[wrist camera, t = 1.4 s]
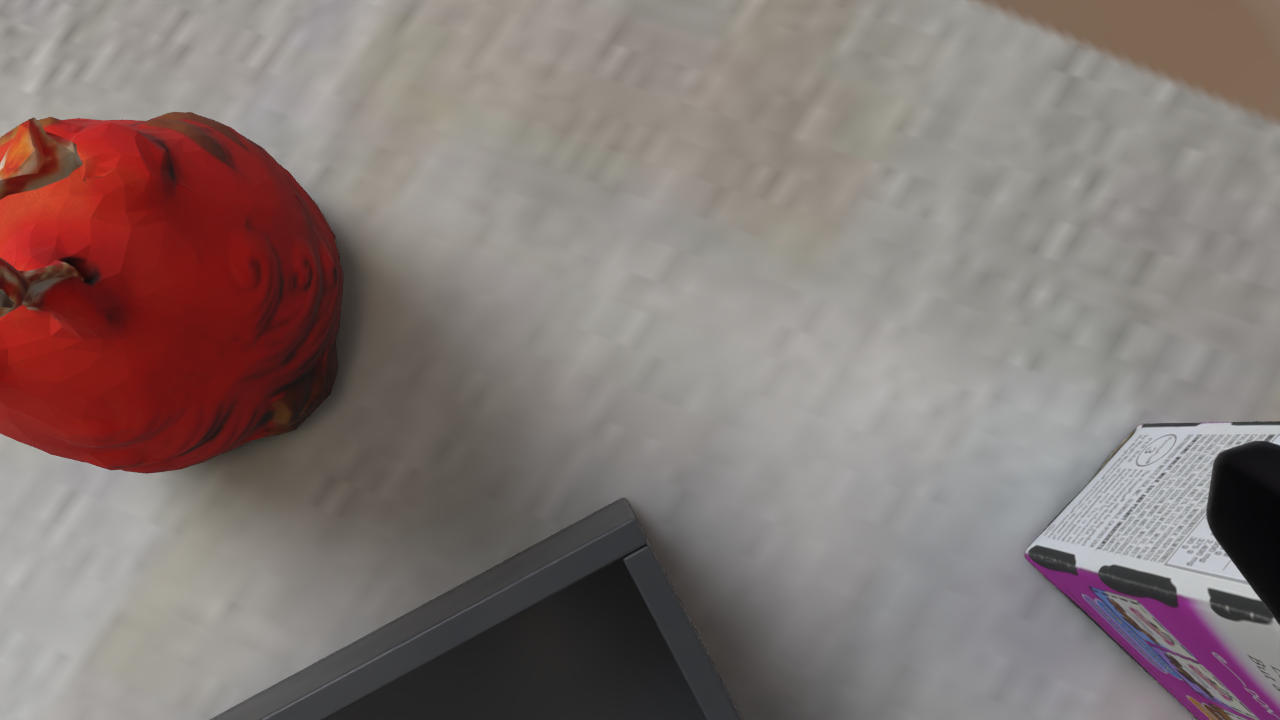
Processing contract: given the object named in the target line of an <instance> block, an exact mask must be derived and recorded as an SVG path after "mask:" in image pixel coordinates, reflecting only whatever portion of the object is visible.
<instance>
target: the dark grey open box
mask: <svg viewBox="0 0 1280 720" xmlns="http://www.w3.org/2000/svg"><path fill="white" fill-rule="evenodd" d="M210 720H742V718H741V716H740V714H739V713H738V711H737V709H736V707H735V705H734V703H733V701H732V699H731V697H730V695H729V694H728V692H727V690H726V688H725V686H724V684H723V682H722V680H721V678H720V676H719V675H718V673H717V671H716V669H715V667H714V665H713V663H712V661H711V659H710V657H709V656H708V654H707V652H706V650H705V648H704V646H703V644H702V642H701V640H700V638H699V637H698V635H697V633H696V631H695V629H694V627H693V625H692V623H691V621H690V619H689V618H688V616H687V614H686V612H685V610H684V608H683V606H682V604H681V602H680V600H679V599H678V597H677V595H676V593H675V591H674V589H673V587H672V585H671V583H670V581H669V580H668V578H667V576H666V574H665V572H664V570H663V568H662V566H661V564H660V562H659V561H658V559H657V557H656V555H655V553H654V551H653V549H652V547H651V545H650V543H649V542H648V540H647V538H646V536H645V534H644V532H643V530H642V528H641V526H640V524H639V523H638V521H637V519H636V517H635V515H634V513H633V511H632V509H631V507H630V505H629V504H628V502H627V500H626V499H625V498H621V499H619V500H617V501H615V502H613V503H612V504H610V505H608V506H606V507H604V508H602V509H600V510H599V511H597V512H595V513H593V514H591V515H589V516H587V517H586V518H584V519H582V520H580V521H578V522H576V523H574V524H573V525H571V526H569V527H567V528H565V529H563V530H561V531H560V532H558V533H556V534H554V535H552V536H550V537H548V538H547V539H545V540H543V541H541V542H539V543H537V544H535V545H534V546H532V547H530V548H528V549H526V550H524V551H522V552H521V553H519V554H517V555H515V556H513V557H511V558H509V559H508V560H506V561H504V562H502V563H500V564H498V565H496V566H495V567H493V568H491V569H489V570H487V571H485V572H483V573H482V574H480V575H478V576H476V577H474V578H472V579H470V580H469V581H467V582H465V583H463V584H461V585H459V586H457V587H456V588H454V589H452V590H450V591H448V592H446V593H444V594H443V595H441V596H439V597H437V598H435V599H433V600H431V601H430V602H428V603H426V604H424V605H422V606H420V607H418V608H417V609H415V610H413V611H411V612H409V613H407V614H405V615H404V616H402V617H400V618H398V619H396V620H394V621H392V622H391V623H389V624H387V625H385V626H383V627H381V628H379V629H378V630H376V631H374V632H372V633H370V634H368V635H366V636H365V637H363V638H361V639H359V640H357V641H355V642H353V643H352V644H350V645H348V646H346V647H344V648H342V649H340V650H339V651H337V652H335V653H333V654H331V655H329V656H327V657H326V658H324V659H322V660H320V661H318V662H316V663H314V664H313V665H311V666H309V667H307V668H305V669H303V670H301V671H300V672H298V673H296V674H294V675H292V676H290V677H288V678H287V679H285V680H283V681H281V682H279V683H277V684H275V685H274V686H272V687H270V688H268V689H266V690H264V691H262V692H261V693H259V694H257V695H255V696H253V697H251V698H249V699H248V700H246V701H244V702H242V703H240V704H238V705H236V706H235V707H233V708H231V709H229V710H227V711H225V712H223V713H221V714H220V715H218V716H216V717H214V718H212V719H210Z"/></svg>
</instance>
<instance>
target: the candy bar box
mask: <svg viewBox="0 0 1280 720" xmlns="http://www.w3.org/2000/svg"><path fill="white" fill-rule="evenodd" d="M1252 441H1267V442H1271V443H1274V444H1277V445H1280V421H1279V422H1257V421H1256V422H1209V423H1157V424H1141V425H1139V426H1137V427H1136V428H1135V429H1134V430H1133V431H1132V432H1131V433H1130V435H1129V436H1128V437H1127V438H1126V439H1125V440H1124V441H1123V442H1122V443H1121V444H1120V445H1119V446H1118V447H1117V448H1116V449H1115V450H1114V451H1113V452H1112V453H1111V455H1110V456H1109V457H1108V458H1107V459H1106V461H1105V462H1104V463H1103V465H1102V466H1101V468H1100V469H1099V470H1098V472H1097V473H1096V474H1095V475H1094V477H1093V478H1092V479H1091V480H1090V482H1089V483H1088V484H1087V485H1086V486H1085V487H1084V488H1083V489H1082V490H1081V491H1080V493H1079V494H1078V495H1077V496H1076V497H1075V498H1074V499H1073V500H1072V501H1071V502H1070V503H1069V504H1068V505H1067V506H1066V507H1065V508H1064V509H1063V510H1062V511H1061V512H1060V513H1059V514H1058V515H1057V516H1056V517H1055V519H1054V520H1053V521H1052V522H1051V523H1050V524H1049V525H1048V526H1047V527H1046V528H1045V530H1044V531H1043V532H1042V533H1041V534H1040V536H1039V537H1038V538H1037V539H1036V540H1035V541H1034V542H1033V543H1032V544H1031V545H1030V546H1029V547H1028V548H1027V550H1026V551H1025V553H1024V556H1025V557H1026V559H1027V560H1028V561H1029V562H1030V563H1031V564H1032V565H1033V566H1034V567H1036V568H1037V569H1038V570H1039V571H1040V572H1041V573H1042V574H1043V575H1044V576H1045V577H1046V578H1047V579H1048V580H1049V581H1051V582H1052V583H1053V584H1054V585H1055V586H1056V587H1057V588H1058V589H1059V590H1060V591H1061V592H1062V593H1063V594H1065V595H1066V596H1067V597H1068V598H1069V599H1070V600H1071V601H1072V602H1073V603H1074V604H1075V605H1076V606H1077V607H1079V608H1080V609H1081V610H1082V611H1083V612H1084V613H1085V614H1086V615H1087V616H1088V617H1089V618H1090V619H1091V620H1092V621H1093V622H1095V623H1096V624H1097V625H1098V626H1099V627H1100V628H1101V629H1102V630H1103V631H1104V632H1105V633H1106V634H1107V635H1108V636H1109V637H1110V638H1111V639H1112V640H1114V641H1115V642H1116V643H1117V644H1118V645H1119V646H1120V647H1121V648H1122V649H1123V650H1124V651H1125V652H1126V653H1128V654H1129V655H1130V656H1131V657H1132V658H1133V659H1134V660H1135V661H1136V662H1137V663H1138V664H1139V665H1140V666H1142V667H1143V668H1144V669H1145V670H1146V671H1147V672H1148V673H1149V674H1150V675H1151V676H1152V677H1153V678H1154V679H1156V680H1157V681H1158V682H1159V683H1160V684H1161V685H1162V686H1163V687H1164V688H1165V689H1166V690H1167V691H1168V692H1170V693H1171V694H1172V695H1173V696H1174V697H1175V698H1176V699H1177V700H1178V701H1179V702H1180V703H1181V704H1182V705H1183V706H1185V707H1186V708H1187V709H1188V710H1189V711H1190V712H1191V713H1192V714H1193V715H1194V716H1195V717H1196V718H1197V719H1199V720H1280V625H1279V624H1278V623H1277V621H1276V620H1275V619H1274V617H1273V616H1272V615H1271V613H1270V612H1269V610H1268V609H1267V608H1266V606H1265V605H1264V604H1263V602H1262V601H1261V600H1260V598H1259V597H1258V596H1257V594H1256V593H1255V592H1254V590H1253V589H1252V588H1251V586H1250V585H1249V584H1248V582H1247V581H1246V579H1245V578H1244V577H1243V575H1242V574H1241V573H1240V571H1239V570H1238V569H1237V567H1236V566H1235V565H1234V563H1233V562H1232V561H1231V559H1230V558H1229V557H1228V555H1227V554H1226V552H1225V551H1224V550H1223V548H1222V547H1221V546H1220V544H1219V543H1218V542H1217V540H1216V539H1215V537H1214V536H1213V534H1212V532H1211V530H1210V528H1209V525H1208V522H1207V517H1206V508H1207V501H1208V495H1209V488H1210V481H1211V475H1212V468H1213V463H1214V460H1215V458H1216V457H1217V455H1218V454H1219V453H1220V452H1222V451H1224V450H1227V449H1230V448H1233V447H1236V446H1239V445H1242V444H1245V443H1248V442H1252Z"/></svg>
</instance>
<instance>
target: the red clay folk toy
mask: <svg viewBox="0 0 1280 720" xmlns="http://www.w3.org/2000/svg"><path fill="white" fill-rule="evenodd" d="M342 291H343V271H342V268H341V265H340V257H339V253H338V250H337V246H336V243H335V235H334V233H333V232H332V230H331V228H330V226H329V224H328V223H327V221H326V219H325V218H324V216H323V214H322V213H321V211H320V209H319V208H318V206H317V205H316V203H315V202H314V201H313V200H312V198H311V197H310V196H309V195H308V194H307V192H306V191H305V190H304V189H303V188H302V187H301V186H300V185H299V184H298V182H297V181H296V180H295V179H294V177H293V176H292V175H291V174H290V173H289V172H288V171H287V170H286V169H284V168H283V167H282V166H281V165H279V164H278V163H277V162H276V160H275V159H274V158H273V157H272V156H271V155H269V154H268V153H267V152H266V151H265V150H264V149H263V148H262V147H261V146H259V145H257V144H256V143H254V142H252V141H251V140H249V139H247V138H246V137H244V136H242V135H241V134H239V133H238V132H236V131H235V130H234V129H232V128H231V127H228V126H226V125H224V124H221V123H219V122H217V121H214V120H211V119H208V118H205V117H202V116H199V115H196V114H194V113H191V112H187V113H182V112H172V113H167V114H165V115H162V116H159V117H156V118H153V119H151V120H148V121H134V120H107V121H103V120H91V119H80V118H77V119H68V120H59V119H56V118H52V117H48V118H45V119H41V120H36V119H35V118H32V119H29V120H28V121H26V122H24V123H22V124H20V125H19V126H17V127H16V128H14V129H13V130H11V131H10V132H8V133H7V134H5V135H4V136H2V137H1V138H0V433H1V434H3V435H5V436H8V437H10V438H12V439H14V440H17V441H19V442H22V443H24V444H27V445H30V446H33V447H35V448H38V449H40V450H42V451H45V452H47V453H49V454H52V455H56V456H60V457H64V458H69V459H73V460H77V461H81V462H87V463H90V464H93V465H96V466H99V467H102V468H105V469H109V470H120V469H121V470H124V471H130V472H139V473H156V472H165V471H172V470H178V469H183V468H186V467H189V466H192V465H195V464H198V463H201V462H204V461H206V460H208V459H210V458H212V457H214V456H216V455H219V454H222V453H225V452H227V451H230V450H232V449H234V448H237V447H239V446H241V445H243V444H245V443H248V442H250V441H252V440H255V439H259V438H263V437H269V436H275V435H280V434H283V433H286V432H289V431H292V430H295V429H297V428H298V427H299V426H300V425H301V424H302V423H303V422H304V421H305V420H306V419H307V418H308V417H309V416H310V415H311V414H312V413H313V412H314V411H315V410H316V408H317V407H318V406H319V405H320V404H321V403H322V402H323V401H324V400H325V399H326V398H327V397H328V396H329V395H330V394H331V391H332V388H333V385H334V382H335V379H336V376H337V371H338V360H337V351H336V336H337V333H338V329H339V326H340V314H341V303H342Z"/></svg>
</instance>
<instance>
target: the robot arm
mask: <svg viewBox="0 0 1280 720" xmlns="http://www.w3.org/2000/svg"><path fill="white" fill-rule="evenodd" d="M1206 517H1207V522H1208V525H1209V528H1210V530H1211V532H1212V534H1213V536H1214V537H1215V539H1216V540H1217V542H1218V543H1219V544H1220V546H1221V547H1222V548H1223V550H1224V551H1225V552H1226V554H1227V555H1228V557H1229V558H1230V559H1231V561H1232V562H1233V563H1234V565H1235V566H1236V567H1237V569H1238V570H1239V571H1240V573H1241V574H1242V575H1243V577H1244V578H1245V579H1246V581H1247V582H1248V584H1249V585H1250V586H1251V588H1252V589H1253V590H1254V592H1255V593H1256V594H1257V596H1258V597H1259V598H1260V600H1261V601H1262V602H1263V604H1264V605H1265V606H1266V608H1267V609H1268V610H1269V612H1270V613H1271V615H1272V616H1273V617H1274V619H1275V620H1276V621H1277V623H1278V624H1279V625H1280V445H1277V444H1274V443H1271V442H1267V441H1252V442H1248V443H1245V444H1242V445H1239V446H1236V447H1233V448H1230V449H1227V450H1224V451H1222V452H1220V453H1219V454H1218V455H1217V457H1216V458H1215V460H1214V463H1213V468H1212V475H1211V481H1210V488H1209V495H1208V501H1207V508H1206Z"/></svg>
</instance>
